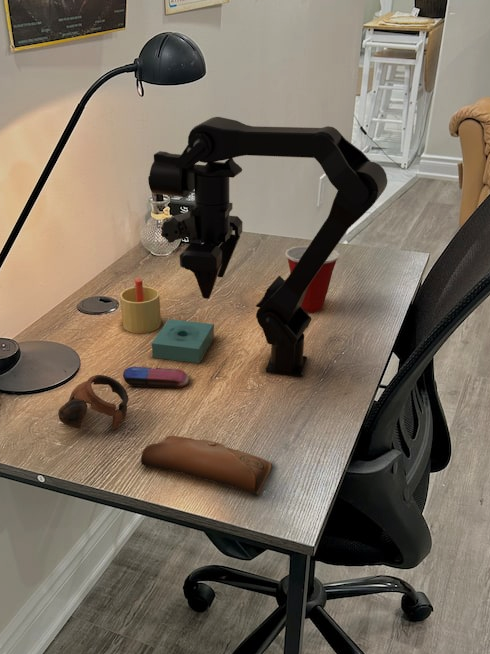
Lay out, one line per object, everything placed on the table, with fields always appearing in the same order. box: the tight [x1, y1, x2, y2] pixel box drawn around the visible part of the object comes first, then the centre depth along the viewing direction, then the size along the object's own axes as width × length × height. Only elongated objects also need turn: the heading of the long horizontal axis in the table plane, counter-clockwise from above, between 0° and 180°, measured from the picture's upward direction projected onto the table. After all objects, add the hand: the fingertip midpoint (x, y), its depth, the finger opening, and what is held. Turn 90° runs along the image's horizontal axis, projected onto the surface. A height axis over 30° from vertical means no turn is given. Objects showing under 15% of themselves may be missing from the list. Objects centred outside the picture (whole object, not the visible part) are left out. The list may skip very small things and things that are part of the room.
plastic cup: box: [284, 245, 341, 314], centre depth 146 cm, size 11×11×12 cm
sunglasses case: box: [140, 435, 273, 495], centre depth 105 cm, size 18×7×7 cm
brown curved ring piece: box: [57, 374, 129, 430], centre depth 114 cm, size 12×10×8 cm
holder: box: [151, 318, 215, 364], centre depth 135 cm, size 10×9×3 cm
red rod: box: [134, 278, 144, 302], centre depth 141 cm, size 1×1×9 cm
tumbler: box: [119, 285, 162, 334], centre depth 142 cm, size 8×8×6 cm
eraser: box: [122, 366, 190, 389], centre depth 125 cm, size 11×4×2 cm, turn 85°
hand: (213, 287), depth 127 cm, fingers open, 9 cm apart
